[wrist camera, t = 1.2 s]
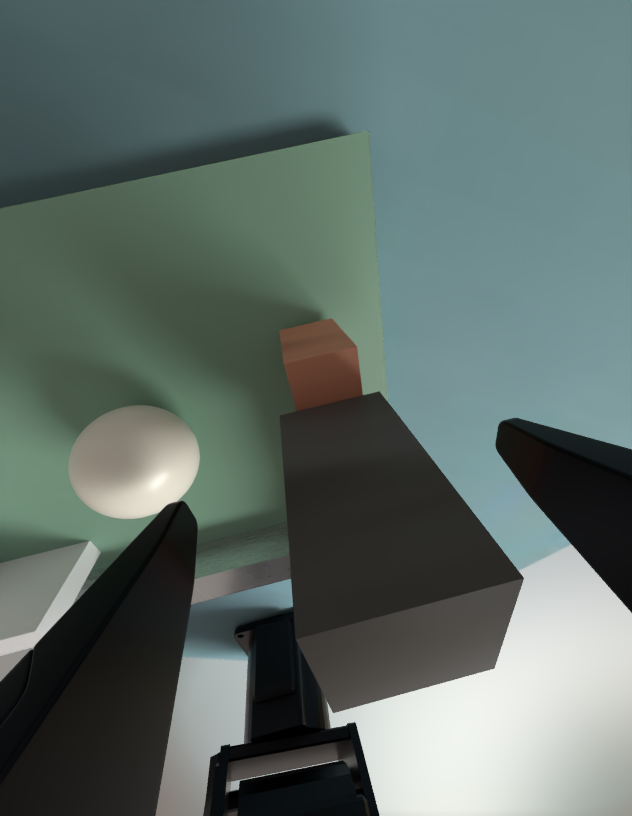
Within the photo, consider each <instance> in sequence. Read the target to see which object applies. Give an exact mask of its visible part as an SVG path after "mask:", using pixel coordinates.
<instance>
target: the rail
mask: <svg viewBox="0 0 632 816" xmlns="http://www.w3.org/2000/svg"><path fill="white" fill-rule="evenodd" d="M107 568H108V567H106V568H102V569H99V570H95V571H91V572H90V573H89V575H88V577H87V579H86V581H85V582H84V584H83V586H82V588H81V590H80V592H79V593H78V595H77V597H76V599H75V601H74V603H75V602H76V601H77V600H78V599H79V598H80V597H81V596H82V594H83V593H84V592H85V591H86V590H87V589H88V588H89V587H90V586H91V585H92V584H93V583H94V582H95V581H96V580H97V579H98V577H99V576H100V575H101V574H102V573H103V572H104V571H105V570H106V569H107ZM287 579H291V568H290V554H289V540H288V526H287V522H284V523H280V524H276V525H272V526H268V527H264V528H260V529H256V530H252V531H248V532H244V533H240V534H236V535H233V536H229V537H225V538H221V539H217V540H213V541H209V542H205V543H201V544H197V550H196V566H195V580H194V588H193V595H192V601H191V604H195V603H199V602H202V601H206V600H210V599H214V598H218V597H222V596H225V595H229V594H233V593H237V592H241V591H245V590H248V589H252V588H256V587H260V586H264V585H268V584H272V583H275V582H279V581H283V580H287ZM74 603H73V604H74ZM73 604H72V605H73Z"/></svg>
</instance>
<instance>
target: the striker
mask: <svg viewBox="0 0 632 816" xmlns="http://www.w3.org/2000/svg"><path fill="white" fill-rule="evenodd" d="M279 333H280V340H281V347H282V355H283V362H284V366H285V370H286V374H287V378H288V382H289V385H290V389H291V393H292V397H293V400H294V404H295V408H296V412H292V413H287V414H283V415H280V429H281V442H282V456H283V470H284V484H285V498H286V512H287V526H288V540H289V554H290V568H291V582H292V596H293V610H294V624H295V638H296V641H297V643H298V645H299V647H300V649H301V651H302V653H303V655H304V657H305V659H306V661H307V663H308V665H309V666H310V668H311V670H312V672H313V674H314V676H315V678H316V680H317V682H318V684H319V686H320V688H321V690H322V692H323V694H324V696H325V698H326V700H327V702H328V704H329V706H330V708H331V709H332V712H333V713H335V712H339V711H342V710H346V709H349V708H353V707H357V706H360V705H364V704H368V703H371V702H375V701H378V700H382V699H385V698H389V697H393V696H396V695H400V694H404V693H407V692H411V691H415V690H418V689H422V688H425V687H429V686H432V685H436V684H440V683H443V682H447V681H451V680H454V679H458V678H461V677H465V676H469V675H472V674H476V673H479V672H483V671H487V670H490V669H494V668H495V665H496V662H497V658H498V656H499V653H500V649H501V646H502V643H503V640H504V637H505V634H506V631H507V627H508V625H509V622H510V619H511V615H512V613H513V610H514V607H515V604H516V601H517V598H518V595H519V592H520V589H521V586H522V582H523V579H524V578H523V576H522V575H521V574H520V573H519V571H518V570H517V569H516V567H515V566H514V565H513V563H512V562H511V561H510V560H509V558H508V557H507V556H506V554H505V553H504V552H503V550H502V549H501V548H500V547H499V545H498V544H497V543H496V541H495V540H494V539H493V538H492V536H491V535H490V534H489V532H488V531H487V530H486V528H485V527H484V526H483V525H482V523H481V522H480V521H479V519H478V518H477V517H476V516H475V514H474V513H473V512H472V510H471V509H470V508H469V506H468V505H467V504H466V503H465V501H464V500H463V499H462V497H461V496H460V495H459V494H458V492H457V491H456V490H455V488H454V487H453V486H452V484H451V483H450V482H449V481H448V479H447V478H446V477H445V475H444V474H443V473H442V472H441V470H440V469H439V468H438V466H437V465H436V464H435V462H434V461H433V460H432V459H431V457H430V456H429V455H428V453H427V452H426V451H425V450H424V448H423V447H422V446H421V444H420V443H419V442H418V440H417V439H416V438H415V437H414V435H413V434H412V433H411V431H410V430H409V429H408V428H407V426H406V425H405V424H404V422H403V421H402V420H401V418H400V417H399V416H398V415H397V413H396V412H395V411H394V409H393V408H392V407H391V406H390V404H389V403H388V402H387V400H386V399H385V398H384V396H383V395H382V394H381V393H380V391H379V392H374V393H370V394H366V395H363V391H362V383H361V375H360V366H359V358H358V350H357V346H356V345H355V344H354V342H353V341H352V340H351V339H350V338H349V337H348V336H347V335H346V334H345V332H344V331H343V330H342V329H341V328H340V327H339V326H338V325H337V323H336V322H335V321H334V320H333V319H332V318H330V319H326V320H321V321H317V322H313V323H309V324H304V325H300V326H296V327H291V328H287V329H283V330H279Z"/></svg>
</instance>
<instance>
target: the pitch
mask: <svg viewBox="0 0 632 816" xmlns="http://www.w3.org/2000/svg"><path fill="white" fill-rule="evenodd" d="M330 318H332V319H333V320H334V321H335V322H336V323H337V325H338V326H339V327H340V328H341V329H342V330H343V331H344V332H345V334H346V335H347V336H348V337H349V338H350V339H351V340H352V341H353V342H354V344H355V345H356V346H357V350H358V358H359V366H360V375H361V383H362V391H363V395H366V394H370V393H374V392H379V391H380V393H381V394H382V395H383V396H384V398H385V399H386V400H387V402H388V397H387V383H386V368H385V354H384V340H383V326H382V312H381V298H380V284H379V270H378V256H377V242H376V227H375V213H374V199H373V185H372V171H371V157H370V143H369V131H365V132H360V133H355V134H351V135H346V136H341V137H336V138H332V139H327V140H322V141H317V142H313V143H308V144H303V145H298V146H294V147H289V148H284V149H279V150H275V151H270V152H265V153H260V154H256V155H251V156H246V157H242V158H237V159H232V160H227V161H223V162H218V163H213V164H208V165H204V166H199V167H194V168H189V169H185V170H180V171H175V172H170V173H166V174H161V175H156V176H151V177H147V178H142V179H137V180H133V181H128V182H123V183H118V184H114V185H109V186H104V187H99V188H95V189H90V190H85V191H80V192H76V193H71V194H66V195H61V196H57V197H52V198H47V199H42V200H38V201H33V202H28V203H24V204H19V205H14V206H9V207H5V208H0V563H3V562H7V561H11V560H15V559H19V558H23V557H27V556H31V555H35V554H39V553H43V552H47V551H51V550H55V549H58V548H62V547H66V546H70V545H74V544H78V543H82V542H86V541H91V542H92V543H93V545H94V546H95V547H96V548H97V549H98V550H99V551H100V552H101V553H100V555H99V557H98V558H97V560H96V562H95V564H94V566H93V568H92V569H91V571H95V570H99V569H102V568H106V567H109V566H110V565H111V564H112V563H113V561H114V560H115V559H116V558H117V557H118V556H119V555H120V554H121V553H122V552H123V551H124V550H125V549H126V548H127V547H128V545H129V544H130V543H131V542H132V541H133V540H134V539H135V538H136V537H137V536H138V535H139V534H140V533H141V532H142V531H143V530H144V528H145V527H146V526H147V525H148V524H149V523H150V522H151V521H152V520H153V519H154V518H155V517H156V516H157V515H158V514H159V513H156V514H153V515H150V516H147V517H143V518H136V519H119V518H113V517H109V516H105V515H103V514H100V513H98V512H96V511H94V510H93V509H91V508H90V507H88V506H87V505H86V504H85V503H83V502H82V501H81V500H80V499H79V497H78V496H77V494H76V493H75V491H74V489H73V488H72V485H71V482H70V479H69V473H68V461H69V457H70V453H71V449H72V447H73V445H74V443H75V441H76V439H77V438H78V436H79V435H80V434H81V432H82V431H83V430H84V429H85V428H86V427H87V426H88V425H89V424H90V423H91V422H93V421H94V420H95V419H97V418H98V417H100V416H102V415H103V414H105V413H107V412H110V411H112V410H115V409H118V408H122V407H126V406H135V405H148V406H154V407H158V408H162V409H164V410H167V411H169V412H171V413H173V414H175V415H177V416H178V417H180V418H181V419H182V420H183V421H184V422H185V423H186V424H187V425H188V426H189V427H190V428H191V430H192V432H193V433H194V435H195V437H196V439H197V442H198V446H199V451H200V462H199V468H198V472H197V475H196V477H195V479H194V481H193V483H192V485H191V486H190V488H189V489H188V491H187V492H186V493H185V494H184V495H183V496H182V497H181V498H180V499H179V500H178V501H185V502H186V503H187V505H188V507H189V508H190V510H191V511H192V513H193V515H194V516H195V518H196V520H197V524H198V534H197V544H201V543H205V542H209V541H213V540H217V539H221V538H225V537H229V536H233V535H236V534H240V533H244V532H248V531H252V530H256V529H260V528H264V527H268V526H272V525H276V524H280V523H284V522H287V512H286V498H285V484H284V470H283V456H282V442H281V429H280V415H283V414H287V413H292V412H296V408H295V404H294V400H293V397H292V393H291V389H290V385H289V382H288V378H287V374H286V370H285V366H284V362H283V355H282V347H281V340H280V333H279V330H283V329H287V328H291V327H296V326H300V325H304V324H309V323H313V322H317V321H321V320H326V319H330ZM91 571H90V572H91Z"/></svg>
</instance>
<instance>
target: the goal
mask: <svg viewBox="0 0 632 816" xmlns="http://www.w3.org/2000/svg"><path fill="white" fill-rule="evenodd" d="M100 553H101V552H100V551H99V550H98V549H97V548H96V547H95V546H94V545H93V543H92V542H91V541H86V542H82V543H78V544H74V545H70V546H66V547H62V548H58V549H55V550H51V551H47V552H43V553H39V554H35V555H31V556H27V557H23V558H19V559H15V560H11V561H7V562H3V563H0V656H2V655H5V654H9V653H13V652H17V651H21V650H25V649H28V648H32V647H34V646H35V644H36V643H37V642H38V641H39V640H40V639H41V638H42V637H43V636H44V635H45V634H46V633H47V632H48V631H49V630H50V629H51V627H52V626H53V625H54V624H55V623H56V622H57V621H58V620H59V619H60V618H61V617H62V616H63V615H64V614H65V613H66V612H67V610H68V609H69V608H70V607H71V606H72V604H73V603H74V601H75V599H76V597H77V595H78V593H79V592H80V590H81V588H82V586H83V584H84V582H85V581H86V579H87V577H88V575H89V573H90V571H91V569H92V568H93V566H94V564H95V562H96V560H97V558H98V557H99V555H100Z"/></svg>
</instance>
